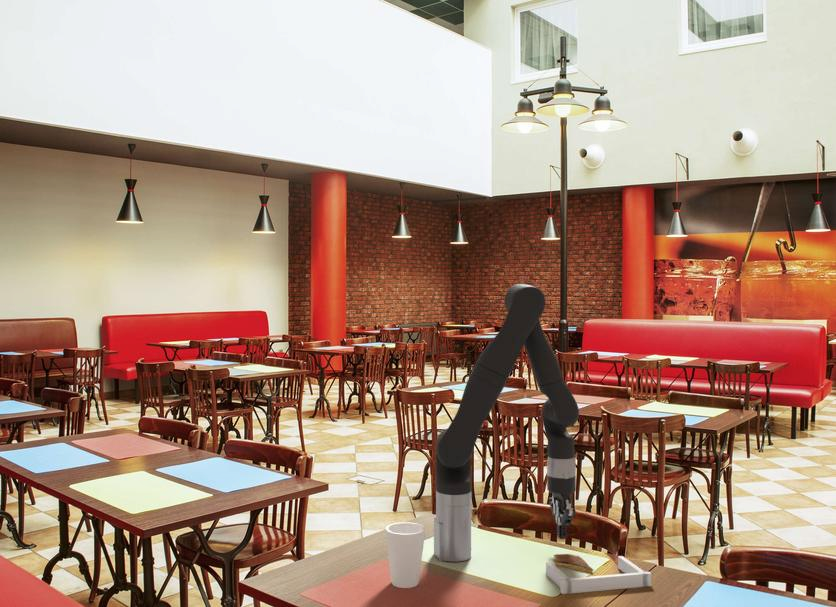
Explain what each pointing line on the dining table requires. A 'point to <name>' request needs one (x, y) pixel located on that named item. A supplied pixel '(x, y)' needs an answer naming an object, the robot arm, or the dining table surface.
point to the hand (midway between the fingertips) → (562, 538)
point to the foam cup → (405, 552)
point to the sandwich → (572, 562)
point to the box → (601, 579)
